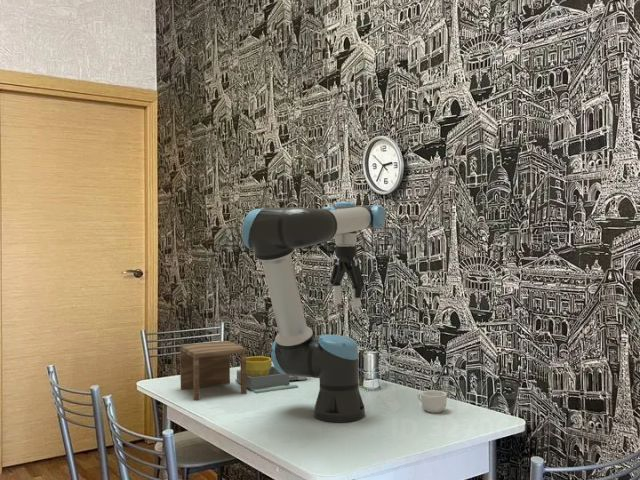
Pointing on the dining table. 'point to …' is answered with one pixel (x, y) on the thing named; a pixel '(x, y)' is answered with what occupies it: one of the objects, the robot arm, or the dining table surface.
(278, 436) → the dining table surface
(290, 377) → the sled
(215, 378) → the tunnel
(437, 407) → the teacup
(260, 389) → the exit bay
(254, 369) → the plant pot
